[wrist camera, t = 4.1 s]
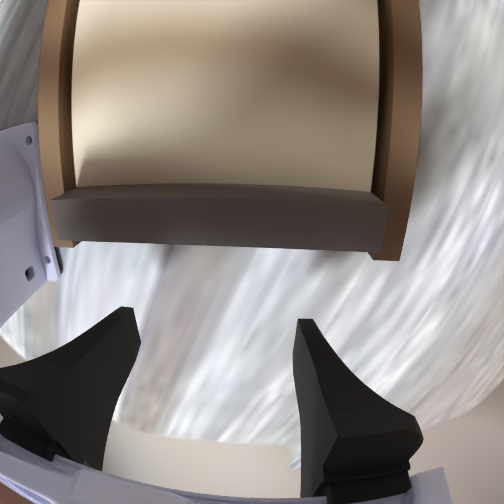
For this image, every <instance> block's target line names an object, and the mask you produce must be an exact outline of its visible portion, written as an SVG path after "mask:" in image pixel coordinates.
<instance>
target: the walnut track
mask: <svg viewBox="0 0 504 504" xmlns="http://www.w3.org/2000/svg"><path fill="white" fill-rule="evenodd" d="M79 2H80V0H48V1H47V7H46V12H45V18H44V25H43V32H42V41H41V50H40V62H39V79H38V130H39V147H40V160H41V170H42V179H43V187H44V194H45V201H46V207H47V213H48V219H49V224H50V229H51V234H52V239H53V244H54V247H69V248H74V247H75V246H76V245H77V244H79V243H80V242H81V241H66V240H57V237H56V232H55V227H54V222H53V216H52V210H51V204H50V200H51V199H53V198H55V197H57V196H59V195H61V194H63V193H65V192H68V191H70V190H72V189H74V188H76V187H77V186H76V177H75V166H74V154H73V137H72V68H73V52H74V41H75V31H76V23H77V15H78V8H79ZM377 4H378V23H379V97H378V118H377V133H376V145H375V156H374V166H373V175H372V184H371V193H372V194H374V195H375V196H376V197H378V198H379V199H380V200H381V201H383V202H384V203H385V204H386V205H388V206H389V212H388V218H387V224H386V229H385V235H384V240H383V245H382V250H381V253H379V252H368V253H369V255H370V256H371V258H372V259H373V260H386V261H399V260H400V256H401V251H402V247H403V242H404V238H405V233H406V228H407V223H408V217H409V212H410V206H411V200H412V194H413V188H414V181H415V173H416V166H417V157H418V148H419V137H420V125H421V108H422V36H421V21H420V9H419V0H377Z"/></svg>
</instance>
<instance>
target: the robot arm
mask: <svg viewBox="0 0 504 504" xmlns="http://www.w3.org/2000/svg"><path fill="white" fill-rule="evenodd" d="M30 137H31V138H32V143H31V142H30ZM48 257H49V258H50V259H49V258H48ZM60 276H61V274H60V270H59V266H58V262H57V258H56V253H55V249H54V245H53V240H52V235H51V230H50V225H49V220H48V214H47V208H46V202H45V196H44V188H43V181H42V172H41V162H40V150H39V135H38V126H37V124H36V123H35V122H28V123H25V124H21V125H18V126H15V127H11V128H8V129H5V130H2V131H0V328H1V326H2V325H3V324H4V323H5V322H6V321H7V320H8V319H9V318H10V317H11V316H12V315H13V314H14V313H15V312H16V311H17V310H18V309H19V308H20V307H21V306H22V305H23V304H24V303H25V302H26V301H27V300H28V299H29V298H30V297H31V296H32V295H33V294H34V293H35V292H36V291H37V290H38V289H39V288H40V287H41V286H42V285H43V284H44V283H45V282H46V281H53V282H55V281H57V280H58V279H59V278H60ZM140 344H141V340H140V336H139V332H138V328H137V323H136V319H135V314H134V310H133V308H130V307H122V306H121V307H120V308H118V309H116V310H115V311H114V312H112V313H111V314H109V315H108V316H107V317H105V318H104V319H103V320H101V321H100V322H98V323H97V324H96V325H94V326H93V327H91V328H90V329H89V330H87V331H86V332H84V333H83V334H81V335H80V336H78V337H77V338H75V339H74V340H72V341H70V342H69V343H67V344H65V345H63V346H61V347H60V348H58V349H56V350H54V351H52V352H49V353H47V354H45V355H42V356H40V357H38V358H35V359H32V360H30V361H27V362H23V363H20V364H17V365H12V366H8V367H3V368H0V414H1V415H2V416H3V420H2V421H1V422H0V482H2V483H4V484H5V485H6V486H8V487H9V488H11V489H13V490H14V491H16V492H17V493H19V494H20V495H22V496H24V497H25V498H27V499H29V500H30V501H32V502H34V503H36V504H453V500H452V496H451V493H450V490H449V486H448V483H447V480H446V477H445V473H444V470H443V468H442V467H438V468H435V469H431V470H428V471H424V472H421V473H417V474H415V475H413V476H411V477H409V474H408V470H410V463H409V459H410V458H411V457H412V456H413V455H414V454H415V452H416V451H417V450H418V449H419V447H420V446H421V444H422V443H423V436H422V432H421V429H420V427H419V424H418V422H417V420H416V418H415V416H413V415H411V414H409V413H407V412H405V411H403V410H402V409H400V408H398V407H396V406H394V405H393V404H391V403H390V402H388V401H386V400H385V399H383V398H382V397H381V396H379V395H378V394H376V393H375V392H374V391H373V390H371V389H370V388H369V387H368V386H366V385H365V384H364V383H363V382H362V381H361V380H359V379H358V378H357V377H356V376H355V375H354V374H353V373H352V372H351V370H350V369H349V368H348V367H347V366H346V365H345V364H344V363H343V361H342V360H341V359H340V358H339V357H338V355H337V354H336V353H335V351H334V350H333V349H332V347H331V346H330V345H329V343H328V342H327V340H326V339H325V338H324V336H323V334H322V333H321V331H320V330H319V328H318V327H317V325H316V323H315V322H314V320H313V319H298V321H297V328H296V335H295V342H294V349H293V375H294V382H295V388H296V395H297V401H298V408H299V414H300V424H301V493H300V494H301V495H300V498H280V499H279V498H243V497H228V496H217V495H208V494H200V493H193V492H186V491H180V490H175V489H169V488H164V487H159V486H154V485H149V484H145V483H141V482H137V481H133V480H129V479H126V478H122V477H119V476H115V475H112V474H108V473H105V472H102V466H103V458H104V452H105V447H106V441H107V436H108V432H109V428H110V424H111V420H112V417H113V413H114V410H115V406H116V404H117V401H118V398H119V396H120V394H121V392H122V389H123V387H124V385H125V383H126V381H127V378H128V376H129V374H130V372H131V370H132V368H133V365H134V363H135V361H136V358H137V355H138V351H139V348H140Z"/></svg>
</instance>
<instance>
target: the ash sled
mask: <svg viewBox="0 0 504 504" xmlns="http://www.w3.org/2000/svg"><path fill="white" fill-rule="evenodd" d="M378 97H379V23H378V4H377V0H80V2H79V8H78V15H77V23H76V31H75V41H74V52H73V68H72V137H73V154H74V166H75V177H76V186H77V187H76V188H74V189H72V190H70V191H68V192H65V193H63V194H61V195H59V196H57V197H55V198H53V199H51V200H50V204H51V210H52V216H53V222H54V227H55V232H56V237H57V240H66V241H96V242H126V243H154V244H182V245H209V246H235V247H260V248H285V249H309V250H333V251H356V252H379V253H381V250H382V245H383V240H384V235H385V229H386V224H387V218H388V212H389V206H388V205H386V204H385V203H384V202H383V201H381V200H380V199H379V198H378V197H376V196H375V195H374V194H372V193H371V184H372V175H373V166H374V156H375V145H376V133H377V118H378Z"/></svg>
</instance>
